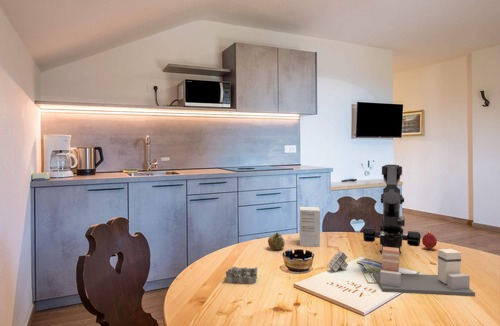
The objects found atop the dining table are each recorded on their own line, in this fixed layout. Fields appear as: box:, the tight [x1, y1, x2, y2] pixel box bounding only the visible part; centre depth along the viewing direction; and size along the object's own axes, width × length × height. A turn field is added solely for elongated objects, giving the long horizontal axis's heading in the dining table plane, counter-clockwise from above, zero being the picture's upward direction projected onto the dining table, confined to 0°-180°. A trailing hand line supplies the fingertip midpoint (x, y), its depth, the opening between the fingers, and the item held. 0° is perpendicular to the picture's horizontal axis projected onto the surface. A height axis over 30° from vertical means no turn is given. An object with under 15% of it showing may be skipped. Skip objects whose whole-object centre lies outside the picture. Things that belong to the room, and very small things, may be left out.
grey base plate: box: [372, 269, 476, 297], centre depth 113 cm, size 14×27×5 cm, turn 83°
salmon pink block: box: [381, 247, 400, 272], centre depth 115 cm, size 4×5×10 cm
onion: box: [421, 231, 438, 250], centre depth 153 cm, size 6×6×8 cm
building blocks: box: [327, 250, 349, 273], centre depth 129 cm, size 5×5×8 cm
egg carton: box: [225, 266, 258, 285], centre depth 118 cm, size 11×8×4 cm
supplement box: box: [299, 206, 321, 248], centre depth 162 cm, size 10×9×17 cm
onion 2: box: [267, 231, 286, 251], centre depth 154 cm, size 8×8×8 cm
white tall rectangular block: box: [437, 248, 462, 284], centre depth 113 cm, size 4×5×10 cm
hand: (390, 258), depth 118 cm, fingers closed
